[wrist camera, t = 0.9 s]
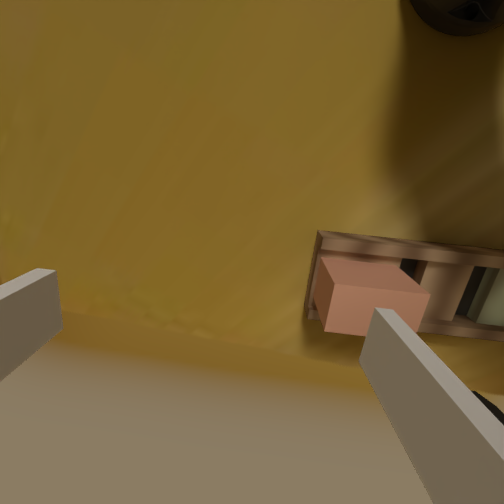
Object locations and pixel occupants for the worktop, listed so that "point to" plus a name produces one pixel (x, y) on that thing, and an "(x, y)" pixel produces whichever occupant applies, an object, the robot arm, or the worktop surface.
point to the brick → (365, 295)
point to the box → (430, 280)
